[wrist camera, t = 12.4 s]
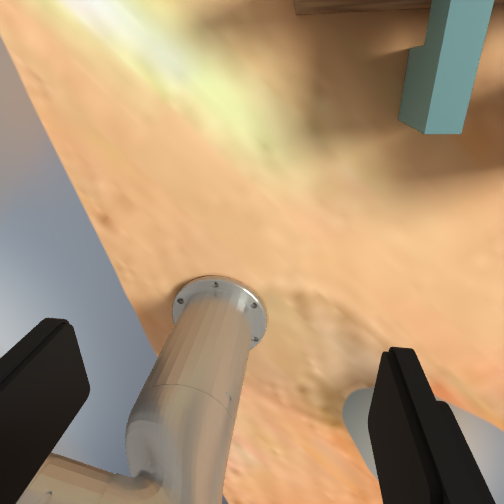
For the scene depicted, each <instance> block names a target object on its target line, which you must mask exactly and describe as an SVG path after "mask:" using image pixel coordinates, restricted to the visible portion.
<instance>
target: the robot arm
mask: <svg viewBox="0 0 504 504" xmlns="http://www.w3.org/2000/svg"><path fill="white" fill-rule="evenodd" d="M172 317H173V321H174V324H175V326H174V328H173V330H172V332H171V334H170V336H169V338H168V339H167V341H166V343H165V345H164V347H163V349H162V351H161V353H160V355H159V357H158V359H157V361H156V363H155V365H154V367H153V369H152V371H151V373H150V375H149V377H148V379H147V380H146V382H145V384H144V386H143V388H142V390H141V392H140V394H139V396H138V398H137V400H136V402H135V404H134V406H133V408H132V410H131V413H130V415H129V418H128V422H127V425H126V433H125V445H126V455H127V460H128V465H129V469H130V474H131V477H128V476H124V475H121V474H118V473H117V474H114V473H111V472H108V471H105V470H102V469H99V468H96V467H93V466H90V465H87V464H84V463H82V462H79V461H76V460H73V459H70V458H67V457H64V456H61V455H58V454H54V453H51V451H52V450H53V448H54V447H55V445H56V444H57V442H58V441H59V440H60V438H61V437H62V435H63V434H64V432H65V431H66V429H67V428H68V426H69V425H70V423H71V422H72V420H73V419H74V417H75V416H76V414H77V413H78V412H79V410H80V409H81V407H82V406H83V404H84V403H85V401H86V400H87V398H88V396H89V392H90V385H89V381H88V378H87V374H86V371H85V367H84V364H83V360H82V356H81V353H80V349H79V346H78V342H77V338H76V335H75V331H74V328H73V326H72V325H70V324H69V322H68V321H67V320H65V319H56V318H45V319H44V320H42V321H41V322H40V323H39V324H38V325H37V326H36V327H34V328H33V329H32V330H31V331H30V332H29V333H28V334H27V335H26V336H25V337H23V338H22V339H21V340H20V341H19V342H18V343H17V344H16V345H15V346H14V347H12V348H11V349H10V350H9V351H8V352H7V353H6V354H5V355H4V356H3V357H2V358H0V504H221V503H222V493H223V486H224V479H225V472H226V467H227V461H228V456H229V450H230V445H231V440H232V435H233V430H234V425H235V420H236V415H237V410H238V405H239V400H240V395H241V390H242V385H243V380H244V375H245V370H246V365H247V360H248V355H249V350H251V349H252V348H254V347H255V346H256V345H257V344H258V343H259V342H260V341H261V339H262V338H263V336H264V333H265V331H266V325H267V314H266V310H265V307H264V305H263V303H262V301H261V300H260V298H259V297H258V296H257V294H256V293H255V292H253V291H252V290H251V289H250V288H249V287H247V286H246V285H244V284H243V283H241V282H239V281H236V280H234V279H231V278H227V277H223V276H204V277H200V278H196V279H194V280H192V281H190V282H188V283H187V284H186V285H185V286H183V287H182V288H181V290H180V291H179V292H178V294H177V296H176V297H175V299H174V302H173V306H172ZM368 429H369V435H370V440H371V445H372V450H373V455H374V459H375V464H376V469H377V475H378V479H379V484H380V489H381V494H382V499H383V504H496V503H495V501H494V499H493V497H492V495H491V493H490V491H489V489H488V486H487V484H486V482H485V480H484V478H483V476H482V474H481V472H480V469H479V467H478V465H477V463H476V461H475V459H474V457H473V455H472V452H471V450H470V448H469V446H468V444H467V442H466V440H465V438H464V435H463V433H462V431H461V429H460V427H459V425H458V423H457V421H456V419H455V416H454V414H453V412H452V410H451V409H450V407H449V405H448V404H447V403H446V402H443V401H436V399H435V397H434V394H433V392H432V390H431V387H430V385H429V383H428V381H427V378H426V376H425V374H424V371H423V369H422V367H421V365H420V362H419V360H418V358H417V355H416V353H415V351H414V350H413V349H411V348H400V347H390V349H389V352H383V353H382V356H381V361H380V365H379V370H378V374H377V379H376V383H375V388H374V393H373V397H372V402H371V406H370V411H369V415H368Z"/></svg>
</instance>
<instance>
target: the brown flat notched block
mask: <svg viewBox="0 0 504 504" xmlns="http://www.w3.org/2000/svg"><path fill="white" fill-rule="evenodd" d="M431 3H432V0H294V5H295V11H296V15H304V14H323V13H342V12H361V11H380V10H398V9H417V8H431ZM494 4H504V0H494Z"/></svg>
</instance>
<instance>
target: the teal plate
mask: <svg viewBox="0 0 504 504" xmlns="http://www.w3.org/2000/svg"><path fill="white" fill-rule="evenodd" d="M493 4H494V0H432V3H431V9H430V15H429V20H428V26H427V32H426V37H425V43H424V45H423V46H418V47H413V48H410V50H409V56H408V63H407V69H406V75H405V81H404V87H403V94H402V100H401V106H400V112H399V118H398V120H399V121H401V122H403V123H405V124H407V125H408V126H410V127H412V128H414V129H416V130H418V131H419V132H421V133H423V134H461V133H462V129H463V125H464V121H465V117H466V113H467V109H468V105H469V101H470V97H471V93H472V89H473V85H474V80H475V76H476V72H477V68H478V64H479V60H480V56H481V52H482V48H483V44H484V40H485V36H486V32H487V28H488V24H489V20H490V16H491V12H492V8H493Z"/></svg>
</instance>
